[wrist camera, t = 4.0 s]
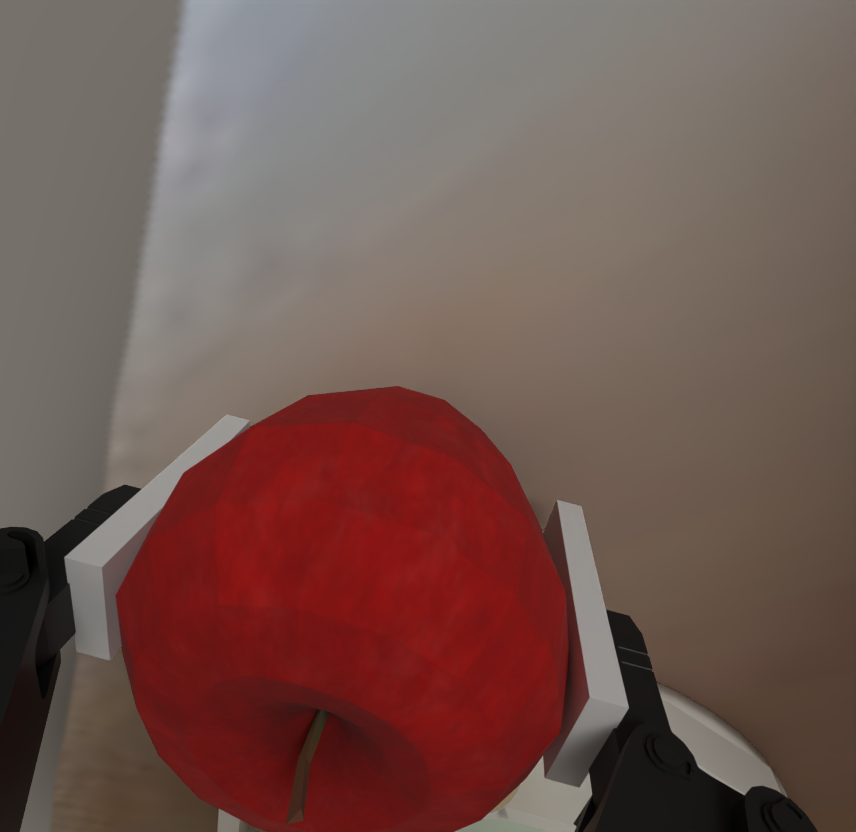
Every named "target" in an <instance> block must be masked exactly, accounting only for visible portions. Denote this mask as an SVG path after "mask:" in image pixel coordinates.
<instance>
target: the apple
mask: <svg viewBox="0 0 856 832" xmlns="http://www.w3.org/2000/svg"><path fill="white" fill-rule="evenodd" d="M115 596H116V604H117V612H118V620H119V628H120V636H121V644H122V652H123V657H124V661H125V665H126V669H127V672H128V676H129V680H130V684H131V688H132V692H133V696H134V700H135V704H136V708H137V710H138V712H139V714H140V716H141V719H142V721H143V723H144V725H145V727H146V729H147V731H148V734H149V736H150V738H151V740H152V742H153V744H154V746H155V749H156V751H157V753H158V755H159V756H160V757H161V758H162V759H163V760H164V762H165V763H166V764H167V765H168V766H169V767H170V768H171V769H172V770H173V771H174V772H175V773H176V774H177V775H178V776H179V777H180V778H181V780H182V781H183V782H184V783H185V784H186V785H187V786H188V787H189V788H190V789H191V790H192V791H193V792H194V793H195V794H196V795H197V796H198V798H200V799H202V800H204V801H205V802H207V803H209V804H211V805H213V806H215V807H217V808H219V809H221V810H222V811H224V812H226V813H228V814H230V815H232V816H234V817H236V818H238V819H240V820H241V821H243V822H245V823H247V824H249V825H251V826H253V827H255V828H257V829H260V830H263V831H266V832H455V831H457V830H459V829H462V828H464V827H467V826H469V825H471V824H474V823H476V822H478V821H481V820H482V819H483V818H484V817H485V816H486V815H487V814H488V813H489V812H491V811H492V810H493V809H494V808H495V807H496V806H497V805H498V804H499V803H500V802H501V801H503V800H504V799H505V798H506V797H507V796H508V795H509V794H510V793H511V792H512V791H513V790H514V789H516V788H517V787H518V786H519V785H520V784H521V783H522V782H523V781H524V780H525V779H526V778H527V777H528V775H529V774H530V773H531V771H532V770H533V769H534V767H535V766H536V765H537V763H538V762H539V761H540V759H541V758H542V756H543V755H544V754H545V752H546V751H547V750H548V748H549V747H550V746H551V744H552V743H553V742H554V740H555V739H556V737H557V736H558V735H559V733H560V732H561V724H562V716H563V708H564V700H565V691H566V683H567V675H568V667H569V641H568V624H567V607H566V592H565V589H564V587H563V584H562V582H561V579H560V577H559V574H558V572H557V569H556V566H555V564H554V561H553V559H552V556H551V554H550V551H549V549H548V546H547V543H546V541H545V538H544V536H543V533H542V531H541V528H540V525H539V523H538V520H537V518H536V516H535V514H534V512H533V510H532V508H531V506H530V504H529V502H528V500H527V497H526V495H525V493H524V491H523V489H522V487H521V485H520V483H519V481H518V479H517V477H516V474H515V472H514V470H513V468H512V466H511V464H510V463H509V462H508V461H507V459H506V458H505V457H504V456H503V455H502V453H501V452H500V451H499V450H498V449H497V448H496V446H495V445H494V444H493V443H492V442H491V440H490V439H489V438H488V437H487V436H486V434H485V433H484V432H483V431H482V430H481V429H480V428H479V427H478V426H476V425H475V424H474V423H473V422H471V421H470V420H469V419H468V418H466V417H465V416H464V415H463V414H461V413H460V412H459V411H458V410H456V409H455V408H454V407H453V406H451V405H450V404H449V403H448V402H446V401H445V400H443V399H439V398H436V397H433V396H429V395H426V394H422V393H419V392H416V391H412V390H409V389H406V388H402V387H399V386H395V387H386V388H376V389H366V390H356V391H347V392H337V393H327V394H317V395H308V396H306V397H304V398H302V399H301V400H299V401H297V402H295V403H293V404H291V405H290V406H288V407H286V408H284V409H282V410H280V411H279V412H277V413H275V414H273V415H271V416H269V417H268V418H266V419H264V420H262V421H260V422H259V423H257V424H255V425H253V426H251V427H250V428H248V429H247V430H245V431H244V432H242V433H241V434H239V435H238V436H236V437H235V438H234V439H232V440H231V441H229V442H228V443H226V444H225V445H223V446H222V447H220V448H219V449H217V450H216V451H214V452H213V453H212V454H210V455H209V456H207V457H206V458H204V459H203V460H201V461H200V462H198V463H197V464H195V465H194V466H192V467H191V468H189V469H188V470H187V471H185V472H184V473H183V474H182V476H181V478H180V479H179V481H178V483H177V484H176V486H175V488H174V490H173V491H172V493H171V495H170V496H169V498H168V500H167V501H166V503H165V505H164V507H163V508H162V510H161V512H160V513H159V515H158V517H157V518H156V520H155V522H154V523H153V525H152V527H151V529H150V530H149V532H148V534H147V536H146V538H145V540H144V542H143V544H142V546H141V548H140V549H139V551H138V553H137V555H136V557H135V559H134V561H133V563H132V565H131V567H130V569H129V570H128V572H127V574H126V576H125V578H124V580H123V582H122V584H121V586H120V588H119V590H118V592H117V593H116V595H115Z"/></svg>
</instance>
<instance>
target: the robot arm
mask: <svg viewBox="0 0 856 832" xmlns="http://www.w3.org/2000/svg"><path fill="white" fill-rule="evenodd" d="M248 428H250V420H246V419H242V418H239V417H235V416H231V415H227V414H226V415H225V416H224V417H223V418H222V419H221V420H220V421H218V422H217V423H216V424H215V425H214V426H213V427H212V428H211V429H209V430H208V431H207V432H206V433H205V434H204V435H203V436H201V437H200V438H199V439H198V440H197V441H196V442H195V443H194V444H192V445H191V446H190V447H189V448H188V449H187V450H186V451H184V452H183V453H182V454H181V455H180V456H179V457H178V458H177V459H175V460H174V461H173V462H172V463H171V464H170V465H169V466H167V467H166V468H165V469H164V470H163V471H162V472H161V473H159V474H158V475H157V476H156V477H155V478H154V479H153V480H152V481H150V482H149V483H148V484H147V485H146V486H145V487H144V488H142V489H140V488H136V487H132V486H128V485H123V486H121V487H118V488H116V489H113V490H111V491H109V492H106V493H104V494H103V495H101V496H100V497H99V498H98V499H97V500H95V501H94V502H93V503H92V504H90V505H89V506H88V508H87V509H84V510H83V511H82V512H80V513H79V514H78V515H77V516H76V517H75V519H74V520H71V521H69V522H68V523H67V524H66V525H64V526H63V527H62V528H61V529H59V530H58V531H57V532H56V533H55V534H53V535H52V536H51V537H49V538H48V539H47V540H46V541H45V542H44V541H43V538H42V537H41V535H40V534H39V533H38V532H37V531H34V530H31V529H29V528H24V527H7V528H1V529H0V832H20V828H21V824H22V819H23V815H24V811H25V807H26V803H27V799H28V795H29V791H30V786H31V783H32V779H33V774H34V770H35V766H36V762H37V758H38V753H39V750H40V745H41V742H42V737H43V733H44V729H45V725H46V721H47V717H48V713H49V709H50V704H51V700H52V696H53V692H54V688H55V684H56V680H57V676H58V672H59V668H60V663H61V655H60V649H61V648H62V647H63V646H64V645H65V643H66V642H67V641H68V640H69V639H70V638H71V637H72V636H73V635H74V636H75V644H76V651H77V652H79V653H83V654H86V655H90V656H94V657H98V658H101V659H105V660H109V661H110V660H111V659H112V658H113V656H114V655H115V654H116V653H117V651H118V650H119V649H120V648H121V646H122V644H121V636H120V628H119V620H118V612H117V604H116V596H115V595H116V593H117V592H118V590H119V588H120V586H121V584H122V582H123V580H124V578H125V576H126V574H127V572H128V570H129V569H130V567H131V565H132V563H133V561H134V559H135V557H136V555H137V553H138V551H139V549H140V548H141V546H142V544H143V542H144V540H145V538H146V536H147V534H148V532H149V530H150V529H151V527H152V525H153V523H154V522H155V520H156V518H157V517H158V515H159V513H160V512H161V510H162V508H163V507H164V505H165V503H166V501H167V500H168V498H169V496H170V495H171V493H172V491H173V490H174V488H175V486H176V484H177V483H178V481H179V479H180V478H181V476H182V474H183V473H184V472H185V471H187V470H188V469H189V468H191V467H192V466H194V465H195V464H197V463H198V462H200V461H201V460H203V459H204V458H206V457H207V456H209V455H210V454H212V453H213V452H214V451H216V450H217V449H219V448H220V447H222V446H223V445H225V444H226V443H228V442H229V441H231V440H232V439H234V438H235V437H236V436H238V435H239V434H241V433H242V432H244V431H245V430H247V429H248ZM543 536H544V538H545V541H546V543H547V546H548V549H549V551H550V554H551V556H552V559H553V561H554V564H555V566H556V569H557V572H558V574H559V577H560V579H561V582H562V584H563V587H564V589H565V592H566V607H567V624H568V641H569V667H568V675H567V683H566V691H565V700H564V708H563V716H562V724H561V732H560V733H559V735H558V736H557V737H556V739H555V740H554V742H553V743H552V744H551V746H550V747H549V748H548V750H547V751H546V752H545V754H544V755H543V762H544V777H545V779H549V780H552V781H556V782H560V783H563V784H567V785H571V786H574V787H578V788H580V786H581V784H582V783H583V781H584V780H585V778H586V776H587V775H588V773H589V775H590V782H591V789H592V795H591V797H590V799H589V800H588V802H587V803H586V805H585V806H584V808H583V809H582V811H581V812H580V814H579V816H578V817H577V819H576V820H575V822H574V823H573V824H574V825H575V826H577V827H576V829H575V832H817V829H816V828H815V827H814V825H813V824H812V822H811V821H810V820H809V818H808V817H807V815H806V814H805V813H804V812H803V811H802V810H801V809H800V808H799V807H798V806H797V805H796V804H795V803H794V802H793V801H792V800H791V799H789V798H788V797H786V796H784V795H783V794H781V793H780V792H778V791H777V790H774V789H771V788H768V787H765V786H754V787H751V788H750V789H749V791H748V792H747V793H746V794H745V795H743V794H741V793H740V792H738V791H736V790H734V789H733V788H731V787H729V786H727V785H726V784H724V783H722V782H721V781H719V780H717V779H715V778H714V777H712V776H710V775H709V774H707V773H706V772H704V771H703V770H702V769H700V768H699V767H698V765H697V763H696V760H695V758H694V755H693V754H692V753H691V751H690V750H689V749H688V747H687V746H686V745H685V743H684V742H683V741H682V740H681V739H679V738H678V737H677V736H676V735H675V734H674V733H673V732H672V731H671V728H670V725H669V722H668V718H667V715H666V712H665V708H664V705H663V702H662V699H661V695H660V692H659V689H658V685H657V682H656V679H655V675H654V672H652V665H651V662H650V659H649V657H648V656H647V654H648V652H647V649H646V646H645V642H644V639H643V636H642V633H641V632H640V631H639V629H638V628H637V626H636V625H635V623H634V622H633V621H632V619H631V618H630V616H628V615H624V614H620V613H617V612H613V611H609V610H606V608H605V604H604V600H603V596H602V591H601V587H600V583H599V579H598V575H597V570H596V566H595V562H594V558H593V553H592V549H591V545H590V541H589V536H588V532H587V528H586V524H585V519H584V515H583V511H582V507H581V506H579V505H575V504H571V503H567V502H563V501H560V500H557V501H556V504H555V506H554V508H553V511H552V513H551V516H550V518H549V521H548V523H547V526H546V528H545V531H544V533H543Z"/></svg>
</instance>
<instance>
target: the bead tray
mask: <svg viewBox="0 0 856 832" xmlns="http://www.w3.org/2000/svg"><path fill="white" fill-rule="evenodd" d="M657 685H658V689H659V692H660V695H661V699H662V702H663V705H664V708H665V712H666V715H667V718H668V722H669V725H670V728H671V731H672V732H673V733H674V734H675V735H676V736H677V737H678V738H679V739H681V740H682V741H683V742H684V743H685V745H686V746H687V747H688V749H689V750H690V751H691V753H692V754H693V755H694V758H695V760H696V763H697V765H698V767H699V768H700V769H702V770H703V771H704V772H706V773H707V774H709V775H710V776H712V777H714V778H715V779H717V780H719V781H721V782H722V783H724V784H726V785H727V786H729V787H731V788H733V789H734V790H736V791H738V792H740V793H741V794H743V795H745V794H746V793H747V792H748V791H749V789H750V788H751V787H754V786H765V787H768V788H771V789H774V790H777V791H778V792H780V793H781V794H783V795H784V796H786V797H788V796H787V794H786V792H785V790H784V787H783V785H782V783H781V781H780V779H779V778H778V776H777V775H776V774H775V772H774V771H773V769H772V768H771V766H770V765H769V764H768V762H767V761H766V759H765V758H764V757H763V755H762V754H761V753H760V752H759V751H758V750H757V749H756V748H755V747H754V746H753V745H752V744H751V743H750V742H749V741H748V740H747V739H746V738H745V737H744V736H743V735H742V734H741V733H739V732H738V731H737V730H735V729H734V728H733V727H731V726H730V725H729V724H727V723H726V722H725V721H723V720H722V719H721V718H719V717H718V716H717V715H715V714H714V713H713V712H711V711H710V710H708V709H706V708H705V707H703V706H701V705H699V704H698V703H696V702H694V701H692V700H691V699H689V698H687V697H685V696H684V695H682V694H680V693H678V692H677V691H675V690H672V689H670V688H668V687H665V686H663V685H661V684H658V683H657ZM591 795H592V789H591V782H590V775H589V773H588V775H587V776H586V778H585V780H584V781H583V783H582V784H581V786H580V788H578V787H574V786H571V785H567V784H563V783H560V782H556V781H552V780H549V779H545V777H544V762H543V756H542V758H541V759H540V761H539V762H538V763H537V765H536V766H535V767H534V769H533V770H532V771H531V773H530V774H529V775H528V777H527V778H526V779H525V780H524V781H523V782H522V783H521V784H520V785H519V786H518V787H517V788H516V789H514V790H513V791H512V792H511V793H510V794H509V795H508V796H507V797H506V798H505V799H504V800H503V801H501V802H500V803H499V804H498V805H497V806H496V807H495V808H494V809H493V810H492V811H491V812H489V813H488V814H487V815H486V816H485V817H484V818H483V819H482V820H481V821H478V822H476V823H474V824H471V825H469V826H467V827H464V828H462V829H459V830H457V831H455V832H575V829H576V827H577V826H575V825H574V824H573V823H574V822H575V820H576V819H577V817H578V816H579V814H580V812H581V811H582V809H583V808H584V806H585V805H586V803H587V802H588V800H589V799H590V797H591ZM217 832H266V831H263V830H260V829H257V828H255V827H253V826H251V825H249V824H247V823H245V822H243V821H241V820H240V819H238V818H236V817H234V816H232V815H230V814H228V813H226V812H224V811H222V810H221V809H219V814H218V830H217Z"/></svg>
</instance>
